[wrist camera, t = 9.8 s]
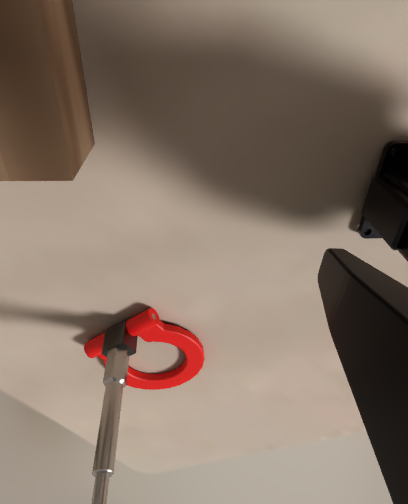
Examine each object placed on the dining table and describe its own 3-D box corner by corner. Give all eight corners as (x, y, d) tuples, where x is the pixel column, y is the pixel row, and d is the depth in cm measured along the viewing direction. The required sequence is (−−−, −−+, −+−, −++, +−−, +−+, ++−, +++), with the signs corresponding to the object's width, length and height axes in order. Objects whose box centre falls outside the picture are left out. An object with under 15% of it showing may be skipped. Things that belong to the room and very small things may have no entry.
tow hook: (221, 355, 32) (158, 297, 27) (245, 531, 22) (151, 492, 17) (147, 388, 34) (76, 341, 29) (138, 561, 24) (28, 535, 19)
